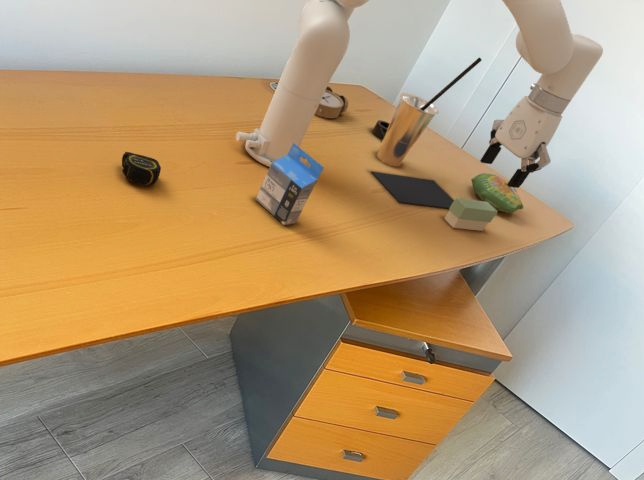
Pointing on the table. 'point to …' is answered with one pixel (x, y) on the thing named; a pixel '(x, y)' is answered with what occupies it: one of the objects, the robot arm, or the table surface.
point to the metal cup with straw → (410, 123)
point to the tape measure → (140, 168)
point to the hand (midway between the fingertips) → (498, 174)
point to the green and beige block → (470, 214)
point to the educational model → (496, 192)
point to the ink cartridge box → (289, 185)
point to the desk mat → (415, 190)
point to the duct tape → (380, 129)
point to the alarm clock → (331, 104)
